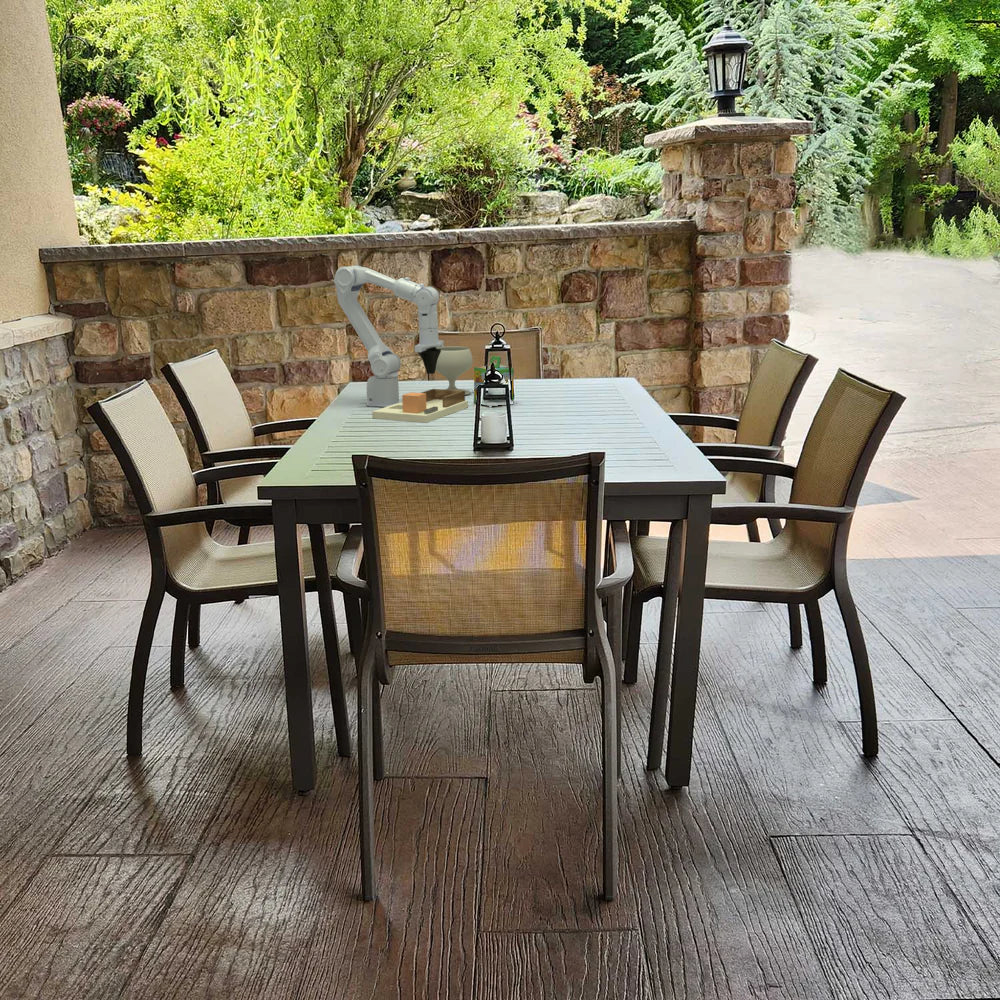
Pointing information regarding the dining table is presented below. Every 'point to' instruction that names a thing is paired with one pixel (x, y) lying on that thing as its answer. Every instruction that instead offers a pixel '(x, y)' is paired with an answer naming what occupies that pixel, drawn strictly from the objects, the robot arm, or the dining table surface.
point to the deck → (397, 413)
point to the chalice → (454, 364)
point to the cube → (414, 402)
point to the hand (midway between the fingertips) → (430, 373)
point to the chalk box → (480, 372)
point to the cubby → (445, 396)
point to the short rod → (430, 410)
